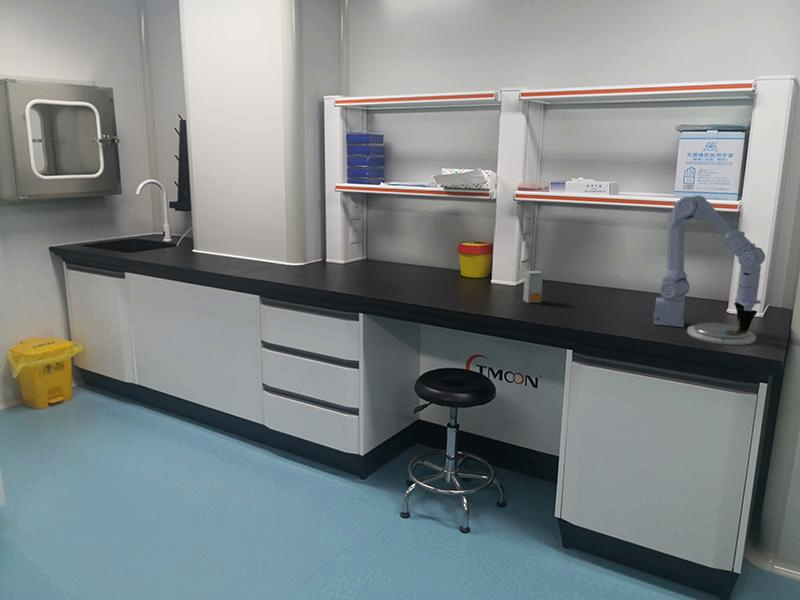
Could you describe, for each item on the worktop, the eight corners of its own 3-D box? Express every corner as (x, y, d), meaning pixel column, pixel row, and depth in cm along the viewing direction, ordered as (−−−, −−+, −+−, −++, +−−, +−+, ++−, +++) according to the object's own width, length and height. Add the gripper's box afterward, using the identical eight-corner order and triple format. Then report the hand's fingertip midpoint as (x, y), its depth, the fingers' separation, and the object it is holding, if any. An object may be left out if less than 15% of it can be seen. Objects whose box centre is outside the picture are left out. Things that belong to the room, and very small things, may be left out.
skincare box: (527, 303, 253) (529, 273, 250) (522, 300, 257) (524, 271, 254) (541, 302, 254) (543, 272, 251) (536, 299, 258) (538, 270, 255)
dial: (688, 332, 207) (690, 315, 206) (700, 322, 220) (702, 306, 218) (743, 341, 198) (746, 323, 197) (753, 330, 210) (755, 313, 209)
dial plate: (687, 340, 204) (688, 336, 204) (686, 325, 222) (687, 321, 222) (759, 348, 196) (759, 344, 196) (752, 331, 214) (752, 327, 214)
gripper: (765, 292, 195) (759, 335, 198) (759, 283, 208) (754, 323, 211) (739, 289, 198) (733, 332, 201) (735, 281, 211) (730, 321, 214)
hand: (742, 327), depth 206 cm, fingers open, 7 cm apart
